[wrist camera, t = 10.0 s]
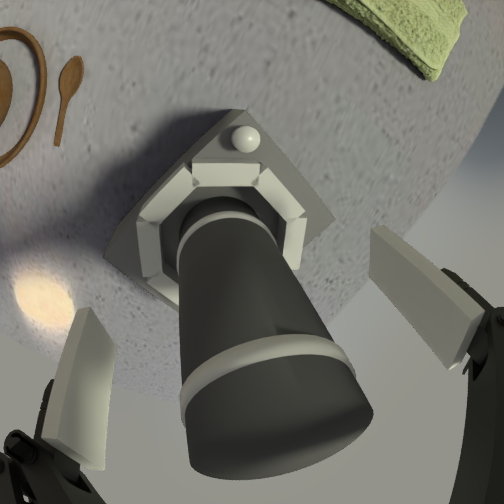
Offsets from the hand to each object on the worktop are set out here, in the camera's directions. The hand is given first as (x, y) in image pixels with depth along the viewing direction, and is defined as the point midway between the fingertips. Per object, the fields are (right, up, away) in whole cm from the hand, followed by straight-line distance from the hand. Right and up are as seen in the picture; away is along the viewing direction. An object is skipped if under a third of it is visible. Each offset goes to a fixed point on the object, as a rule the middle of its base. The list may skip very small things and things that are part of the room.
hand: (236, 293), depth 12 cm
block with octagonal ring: (-2, +5, +9) cm, 11 cm away
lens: (-1, +3, +5) cm, 6 cm away
